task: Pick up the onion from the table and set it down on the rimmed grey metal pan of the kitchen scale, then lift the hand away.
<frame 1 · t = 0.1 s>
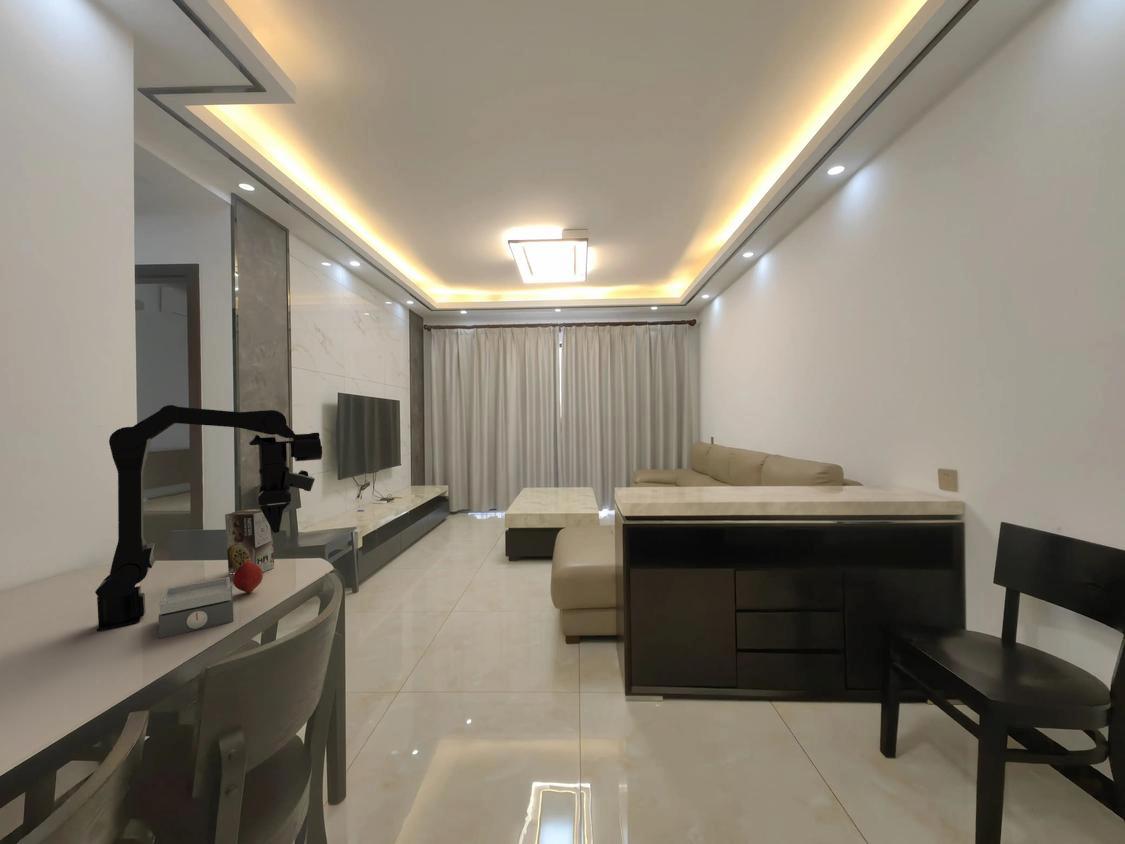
hand: (276, 528, 114), 14 cm above the table, tool pointing down, fingers open, 9 cm apart
onion: (248, 593, 113), on the table
scale base: (198, 619, 98), on the table
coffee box: (251, 571, 130), on the table
scale pan: (197, 594, 98), point 5 cm above the table, slide at -0.3 cm
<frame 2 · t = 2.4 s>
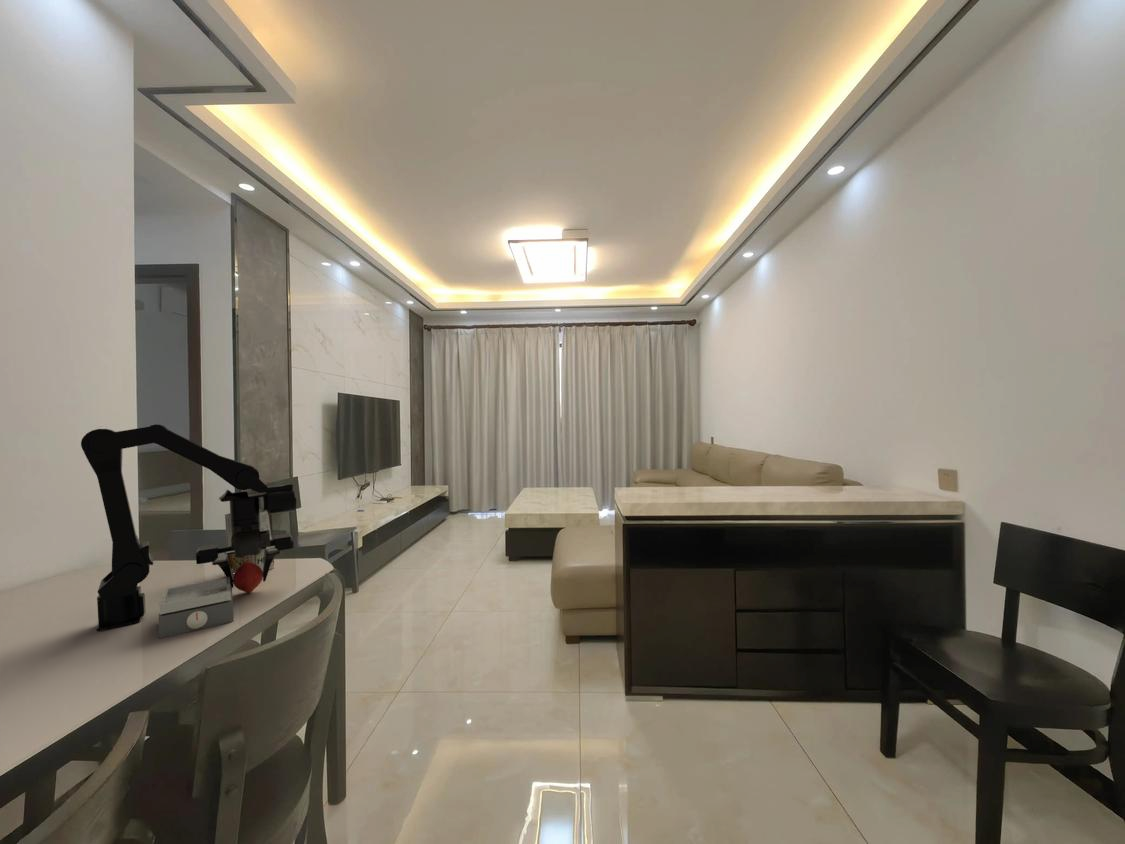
hand: (248, 584, 113), 2 cm above the table, tool pointing down, fingers closed on onion, 6 cm apart
onion: (248, 593, 113), on the table, touching gripper
everything else where it was.
when the fingers open (8 cm above the table, at t = 5.9 s): onion drops 1 cm, resting on scale pan.
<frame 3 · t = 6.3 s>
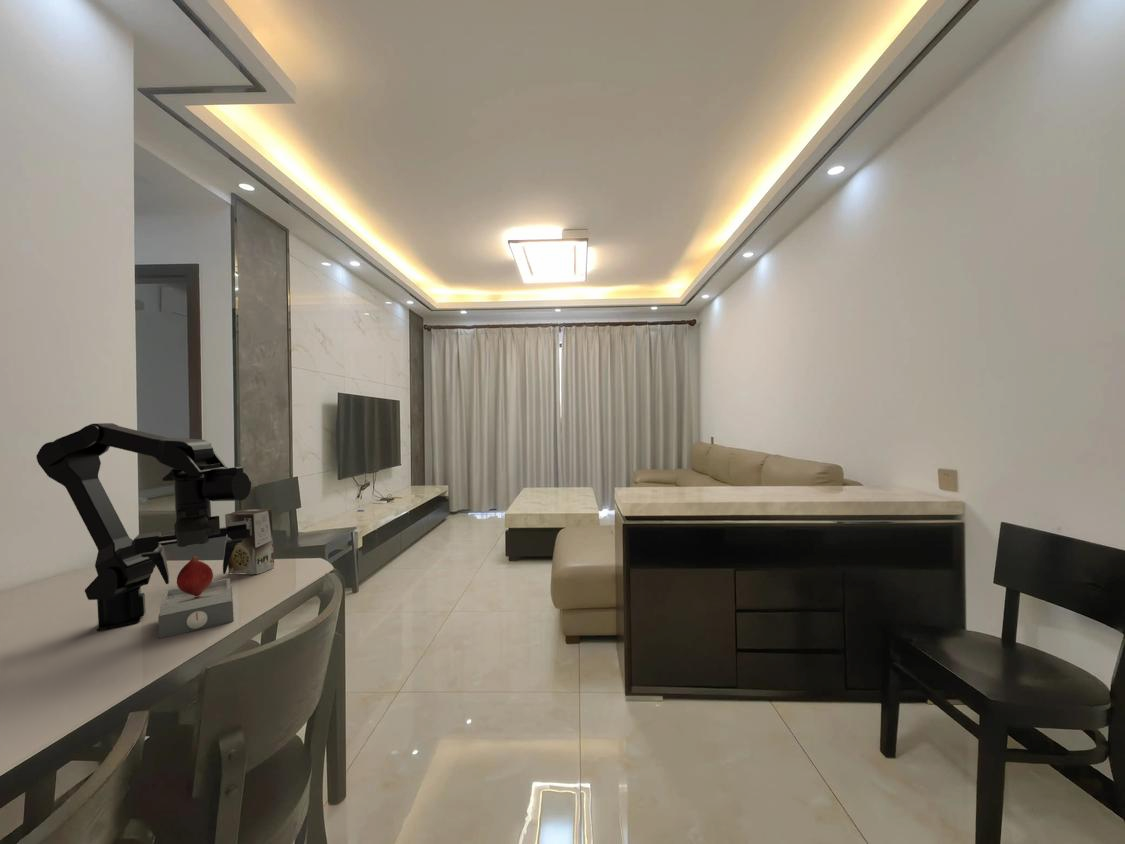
hand: (196, 578, 98), 8 cm above the table, tool pointing down, fingers open, 9 cm apart
onion: (197, 596, 98), point 5 cm above the table, touching scale pan
scale pan: (197, 595, 98), point 5 cm above the table, slide at -0.5 cm, touching onion
everything else where it was.
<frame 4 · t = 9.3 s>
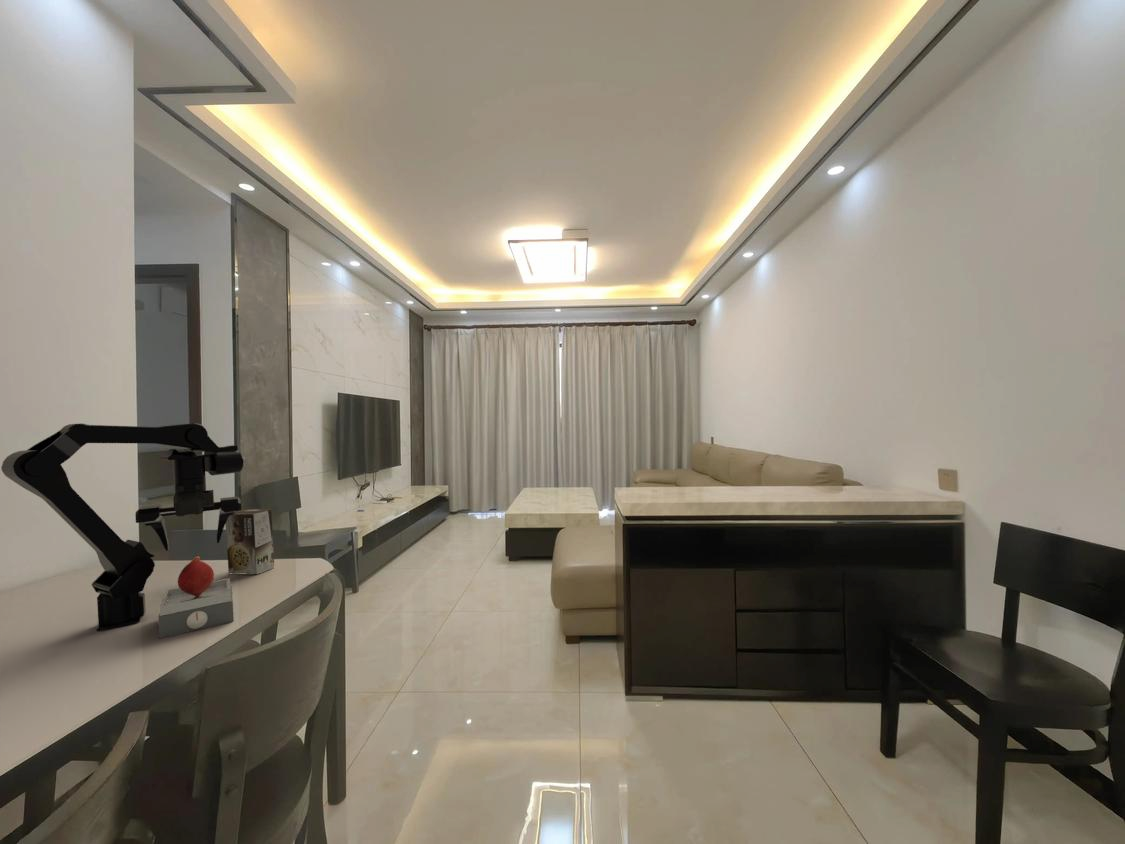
hand: (193, 546, 110), 12 cm above the table, tool pointing down, fingers open, 9 cm apart
nothing on the table moved.
at the end: onion inside the target area on the scale base (0.1 cm from its centre), point 4.7 cm above the scale base's base; the gripper is holding nothing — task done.
